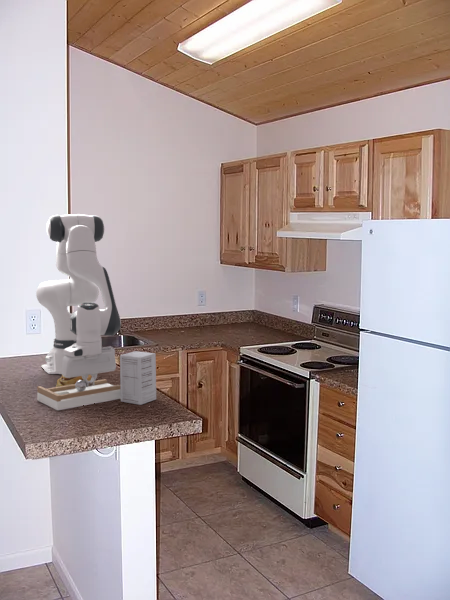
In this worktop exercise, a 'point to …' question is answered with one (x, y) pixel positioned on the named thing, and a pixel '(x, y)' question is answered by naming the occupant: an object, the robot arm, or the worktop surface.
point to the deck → (78, 395)
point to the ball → (80, 385)
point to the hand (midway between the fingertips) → (89, 386)
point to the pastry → (70, 380)
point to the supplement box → (138, 377)
